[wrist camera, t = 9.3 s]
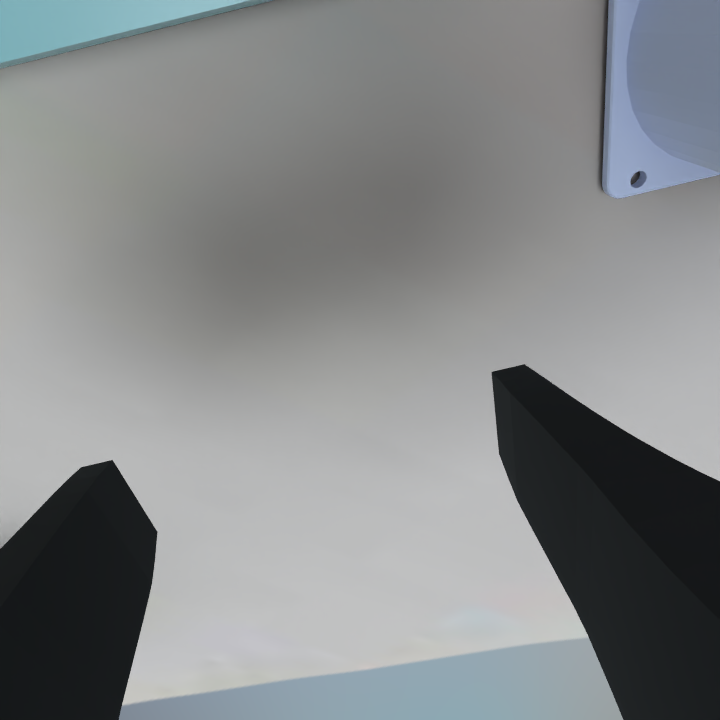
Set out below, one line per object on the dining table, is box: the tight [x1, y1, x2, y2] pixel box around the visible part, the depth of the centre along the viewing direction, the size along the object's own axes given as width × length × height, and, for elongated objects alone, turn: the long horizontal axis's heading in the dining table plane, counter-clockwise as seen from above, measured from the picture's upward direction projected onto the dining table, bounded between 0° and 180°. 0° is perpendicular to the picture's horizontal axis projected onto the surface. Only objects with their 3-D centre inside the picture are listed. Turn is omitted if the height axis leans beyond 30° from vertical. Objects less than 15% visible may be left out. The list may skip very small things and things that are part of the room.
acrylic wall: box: [0, 0, 273, 69], centre depth 13 cm, size 20×1×3 cm, turn 102°
